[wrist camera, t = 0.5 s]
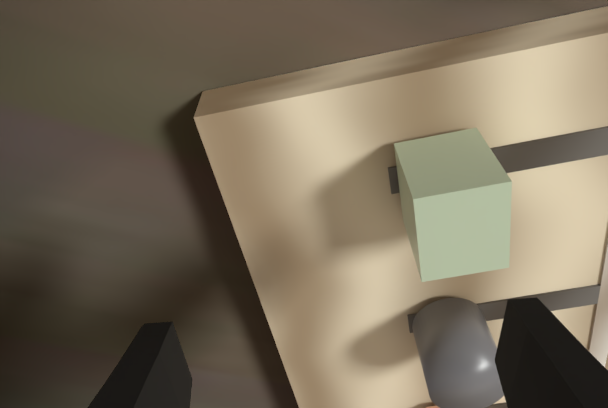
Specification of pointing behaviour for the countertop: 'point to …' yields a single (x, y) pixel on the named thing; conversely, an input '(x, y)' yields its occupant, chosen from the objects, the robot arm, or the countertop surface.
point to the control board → (387, 204)
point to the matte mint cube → (454, 204)
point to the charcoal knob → (457, 354)
